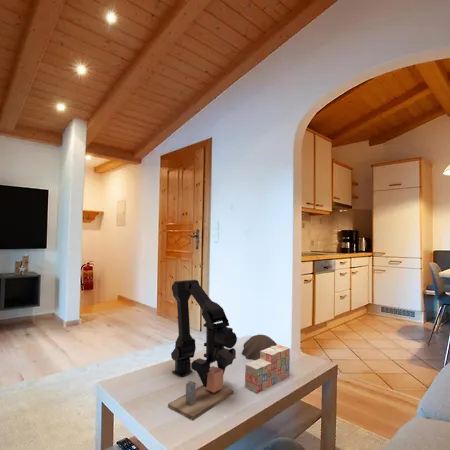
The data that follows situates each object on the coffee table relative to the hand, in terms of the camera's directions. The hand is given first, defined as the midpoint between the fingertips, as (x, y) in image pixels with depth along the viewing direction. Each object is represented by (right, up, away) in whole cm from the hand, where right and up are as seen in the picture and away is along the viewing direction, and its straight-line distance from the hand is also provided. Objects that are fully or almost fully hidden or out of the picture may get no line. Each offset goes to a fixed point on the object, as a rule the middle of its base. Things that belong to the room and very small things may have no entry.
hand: (213, 382), depth 117 cm
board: (-4, -4, -5) cm, 7 cm away
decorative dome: (+23, -6, +39) cm, 46 cm away
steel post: (-8, -4, -10) cm, 13 cm away
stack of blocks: (+22, -5, +10) cm, 25 cm away
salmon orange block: (0, -2, 0) cm, 2 cm away
